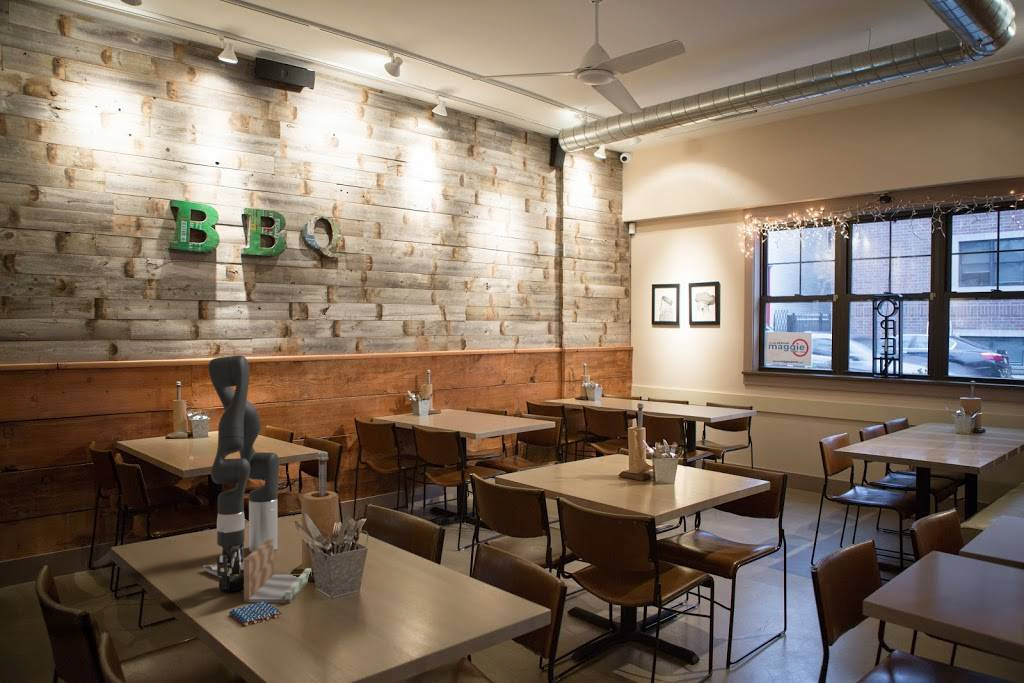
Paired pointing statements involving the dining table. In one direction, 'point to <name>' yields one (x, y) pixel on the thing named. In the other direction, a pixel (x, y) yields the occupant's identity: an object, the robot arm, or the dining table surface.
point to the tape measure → (234, 582)
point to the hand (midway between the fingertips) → (230, 584)
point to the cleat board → (269, 578)
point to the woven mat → (255, 613)
